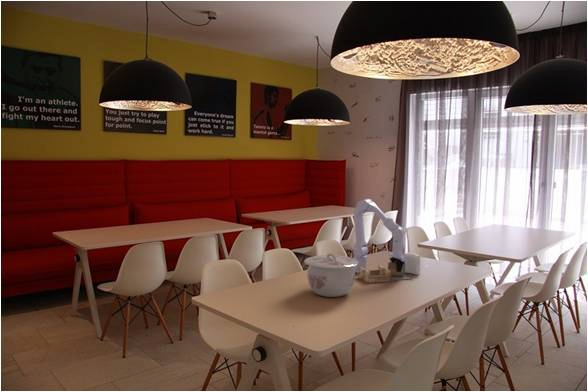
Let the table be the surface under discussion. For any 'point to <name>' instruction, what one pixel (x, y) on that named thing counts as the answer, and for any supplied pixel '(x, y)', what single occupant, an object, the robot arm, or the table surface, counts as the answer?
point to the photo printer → (412, 263)
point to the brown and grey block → (395, 269)
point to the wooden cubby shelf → (375, 275)
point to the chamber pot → (331, 274)
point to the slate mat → (400, 277)
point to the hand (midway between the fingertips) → (396, 270)
